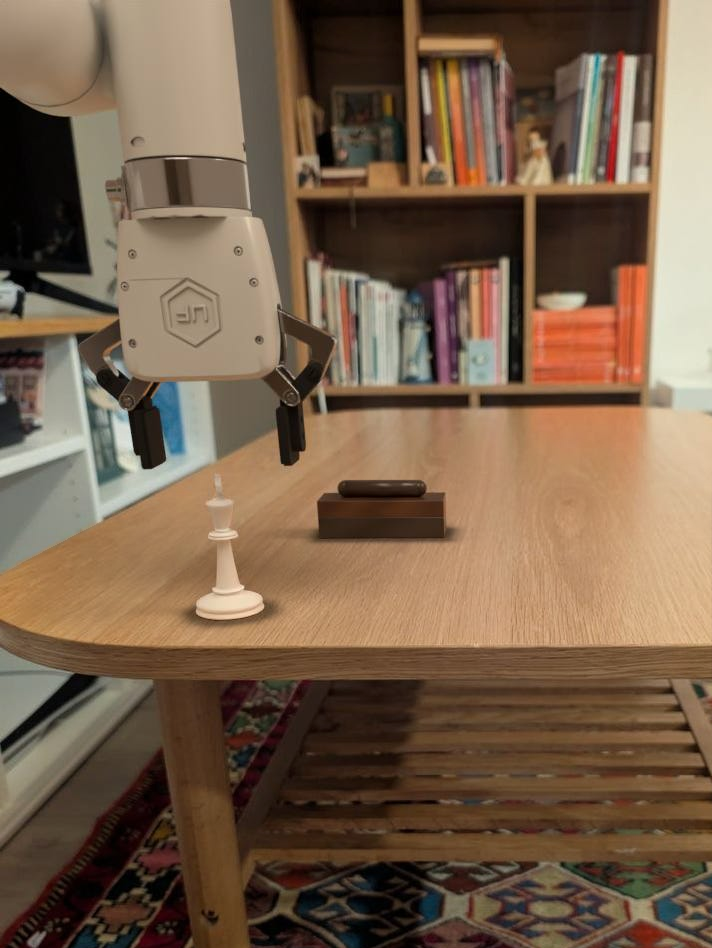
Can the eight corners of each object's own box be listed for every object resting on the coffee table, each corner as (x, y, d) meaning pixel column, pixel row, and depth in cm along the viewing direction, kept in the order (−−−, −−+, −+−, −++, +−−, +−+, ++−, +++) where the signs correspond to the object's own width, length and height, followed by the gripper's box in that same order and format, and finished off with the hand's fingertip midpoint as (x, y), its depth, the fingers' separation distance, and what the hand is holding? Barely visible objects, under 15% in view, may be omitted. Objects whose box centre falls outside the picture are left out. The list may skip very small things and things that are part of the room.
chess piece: (259, 596, 73) (248, 466, 70) (268, 615, 69) (257, 478, 65) (193, 603, 71) (178, 471, 68) (198, 623, 67) (182, 482, 64)
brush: (319, 538, 91) (315, 484, 89) (326, 528, 94) (322, 476, 93) (444, 537, 90) (443, 483, 89) (446, 528, 94) (445, 476, 92)
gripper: (30, 195, 57) (78, 477, 63) (314, 186, 57) (336, 471, 63) (81, 206, 64) (120, 458, 70) (334, 198, 64) (352, 453, 70)
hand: (222, 464), depth 66 cm, fingers open, 9 cm apart
